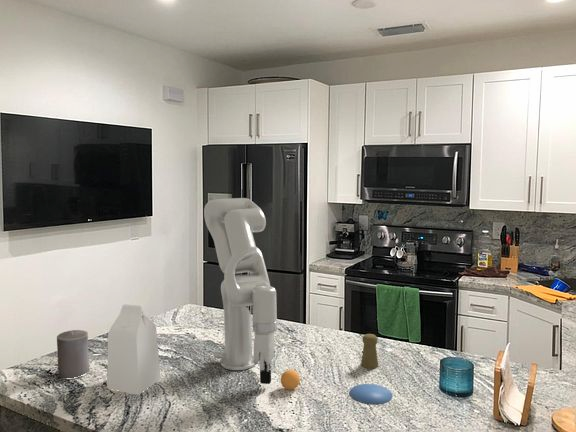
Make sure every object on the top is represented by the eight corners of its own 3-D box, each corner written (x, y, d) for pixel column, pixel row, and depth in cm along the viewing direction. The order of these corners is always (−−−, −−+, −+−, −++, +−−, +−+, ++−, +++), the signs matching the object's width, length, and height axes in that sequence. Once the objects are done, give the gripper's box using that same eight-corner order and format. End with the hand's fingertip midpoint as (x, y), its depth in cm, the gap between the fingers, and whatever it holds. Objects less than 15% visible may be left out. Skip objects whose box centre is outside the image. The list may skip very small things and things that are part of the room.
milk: (160, 379, 162) (158, 302, 159) (139, 395, 151) (136, 312, 148) (130, 374, 166) (127, 299, 163) (107, 389, 155) (103, 309, 152)
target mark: (348, 402, 146) (348, 401, 146) (349, 383, 159) (349, 382, 158) (393, 405, 144) (393, 404, 144) (391, 385, 157) (391, 385, 157)
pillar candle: (53, 374, 166) (51, 331, 165) (82, 365, 174) (80, 324, 172) (65, 382, 160) (63, 338, 158) (94, 373, 167) (93, 330, 165)
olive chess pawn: (378, 369, 169) (378, 338, 168) (360, 368, 170) (360, 337, 169) (378, 362, 175) (379, 332, 174) (361, 361, 176) (361, 331, 175)
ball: (279, 392, 152) (279, 373, 152) (282, 384, 158) (282, 366, 158) (298, 393, 151) (298, 375, 151) (300, 385, 157) (300, 367, 157)
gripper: (258, 318, 162) (259, 372, 163) (247, 333, 147) (248, 392, 149) (281, 319, 160) (281, 373, 162) (271, 334, 146) (272, 394, 147)
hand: (265, 382), depth 155 cm, fingers closed
